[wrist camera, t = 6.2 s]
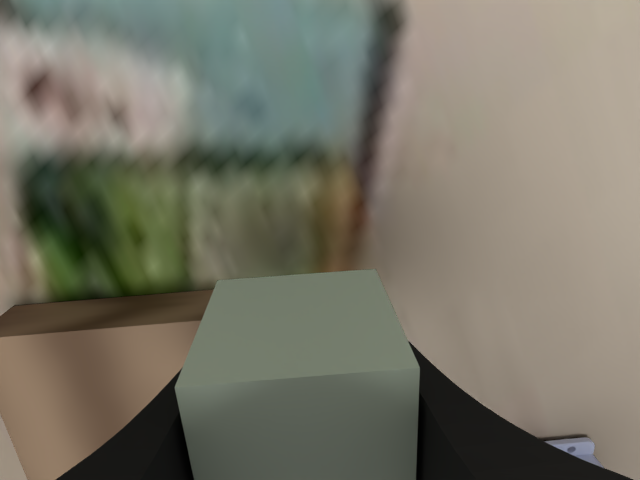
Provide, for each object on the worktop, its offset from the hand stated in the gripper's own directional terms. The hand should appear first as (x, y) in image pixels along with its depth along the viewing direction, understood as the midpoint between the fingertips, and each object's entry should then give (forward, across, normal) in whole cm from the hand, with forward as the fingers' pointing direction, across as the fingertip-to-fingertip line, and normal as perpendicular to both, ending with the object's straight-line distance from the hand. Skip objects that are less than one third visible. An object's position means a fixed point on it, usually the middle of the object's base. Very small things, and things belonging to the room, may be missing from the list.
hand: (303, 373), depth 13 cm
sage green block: (+2, 0, 0) cm, 2 cm away
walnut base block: (+9, +9, +6) cm, 14 cm away
